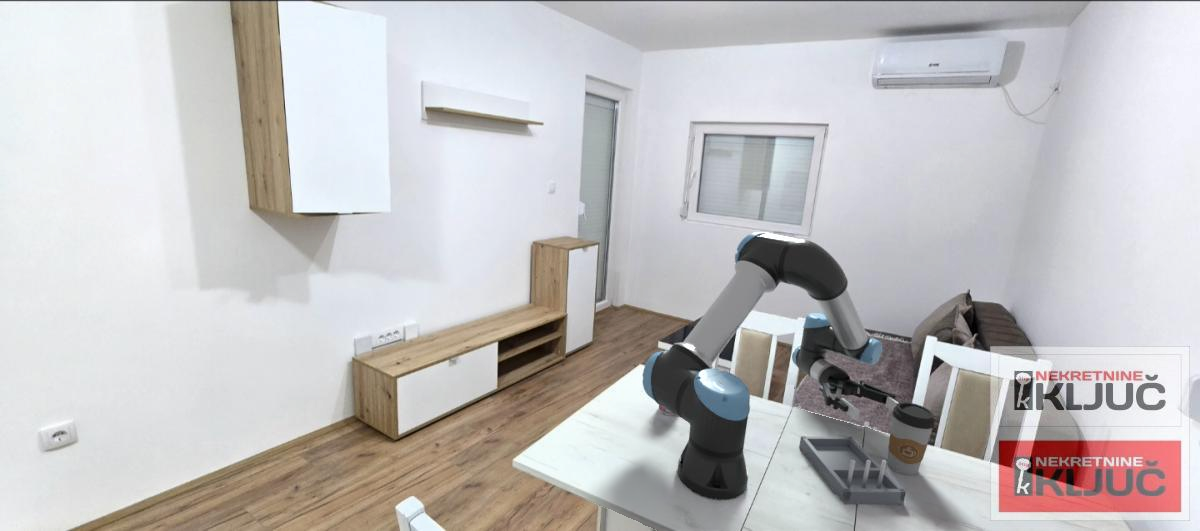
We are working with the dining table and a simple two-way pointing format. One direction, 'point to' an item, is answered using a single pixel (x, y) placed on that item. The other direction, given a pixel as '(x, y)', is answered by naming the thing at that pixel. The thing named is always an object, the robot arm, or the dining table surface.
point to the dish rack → (851, 471)
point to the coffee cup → (909, 437)
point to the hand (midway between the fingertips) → (882, 415)
